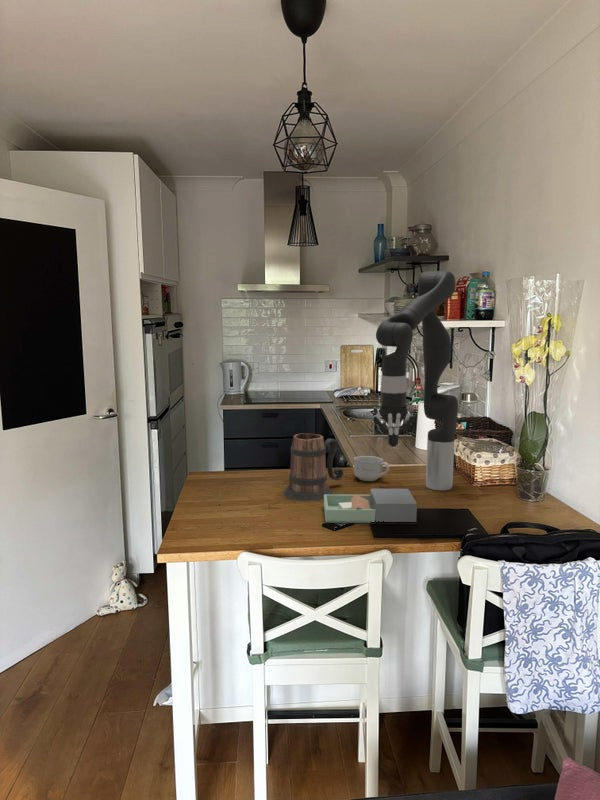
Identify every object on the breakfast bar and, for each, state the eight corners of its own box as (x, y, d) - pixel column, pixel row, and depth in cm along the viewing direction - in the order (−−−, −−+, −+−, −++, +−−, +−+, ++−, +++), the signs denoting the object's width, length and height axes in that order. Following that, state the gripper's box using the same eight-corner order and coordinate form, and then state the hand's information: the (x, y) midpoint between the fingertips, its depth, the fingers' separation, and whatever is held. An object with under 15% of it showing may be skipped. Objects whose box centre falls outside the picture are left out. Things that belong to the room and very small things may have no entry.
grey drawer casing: (369, 506, 183) (370, 488, 182) (407, 506, 184) (408, 488, 183) (375, 523, 170) (376, 503, 169) (416, 523, 170) (417, 503, 169)
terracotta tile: (350, 498, 174) (356, 494, 173) (363, 505, 176) (368, 500, 175) (352, 511, 170) (358, 506, 169) (365, 517, 172) (370, 512, 171)
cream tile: (338, 502, 178) (338, 510, 178) (343, 508, 173) (342, 516, 173) (353, 501, 179) (353, 509, 179) (358, 507, 174) (358, 515, 174)
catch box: (323, 506, 183) (323, 494, 183) (369, 506, 183) (369, 494, 183) (325, 522, 170) (325, 509, 169) (375, 523, 170) (375, 510, 169)
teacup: (347, 478, 213) (347, 457, 212) (367, 473, 220) (367, 452, 219) (375, 487, 203) (376, 465, 202) (395, 481, 210) (396, 460, 209)
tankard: (302, 504, 185) (303, 444, 182) (273, 491, 199) (273, 434, 195) (357, 491, 199) (358, 434, 196) (326, 479, 212) (327, 426, 209)
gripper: (413, 387, 174) (412, 442, 178) (370, 388, 175) (369, 443, 178) (418, 391, 167) (417, 449, 170) (372, 392, 167) (372, 449, 170)
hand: (392, 446), depth 174 cm, fingers closed
